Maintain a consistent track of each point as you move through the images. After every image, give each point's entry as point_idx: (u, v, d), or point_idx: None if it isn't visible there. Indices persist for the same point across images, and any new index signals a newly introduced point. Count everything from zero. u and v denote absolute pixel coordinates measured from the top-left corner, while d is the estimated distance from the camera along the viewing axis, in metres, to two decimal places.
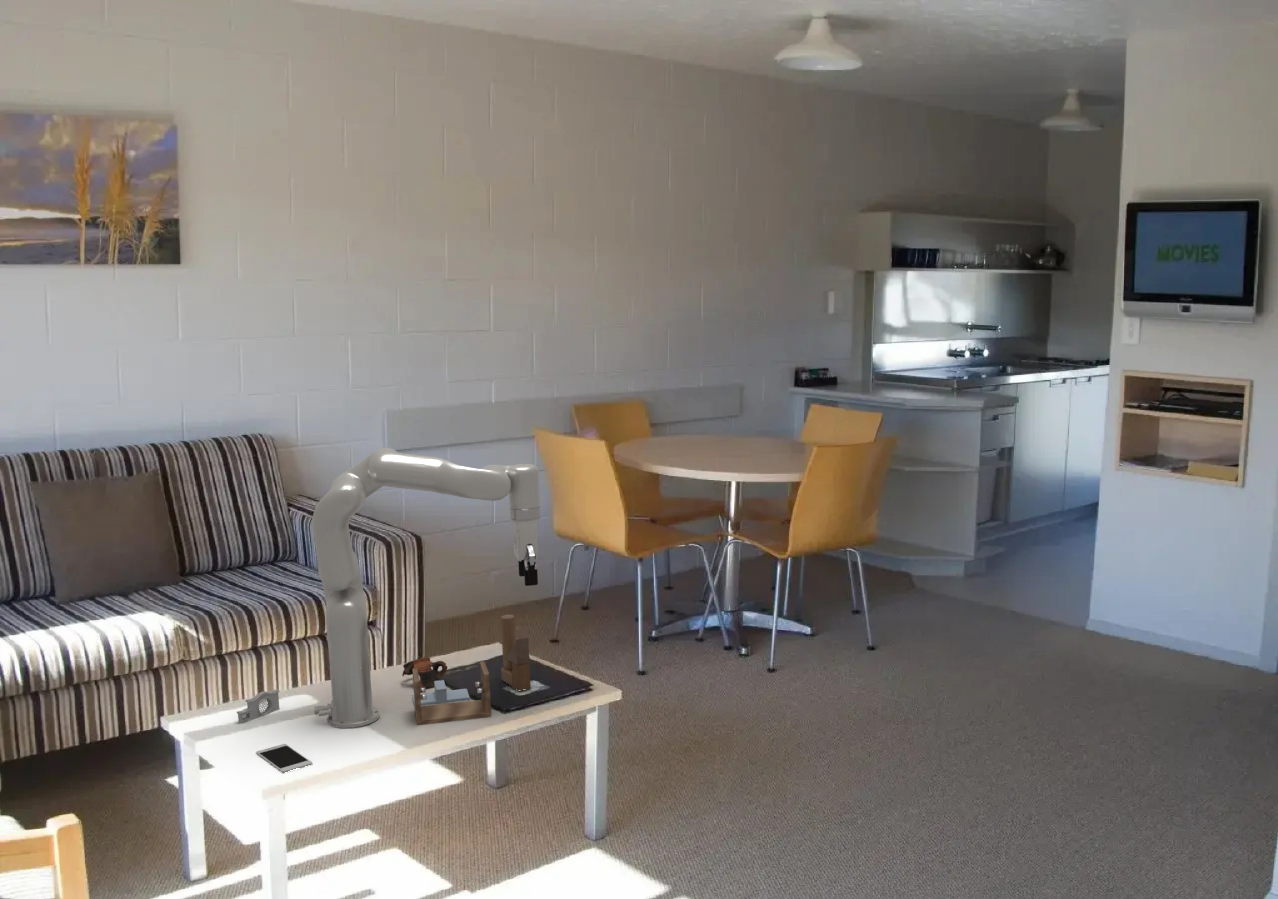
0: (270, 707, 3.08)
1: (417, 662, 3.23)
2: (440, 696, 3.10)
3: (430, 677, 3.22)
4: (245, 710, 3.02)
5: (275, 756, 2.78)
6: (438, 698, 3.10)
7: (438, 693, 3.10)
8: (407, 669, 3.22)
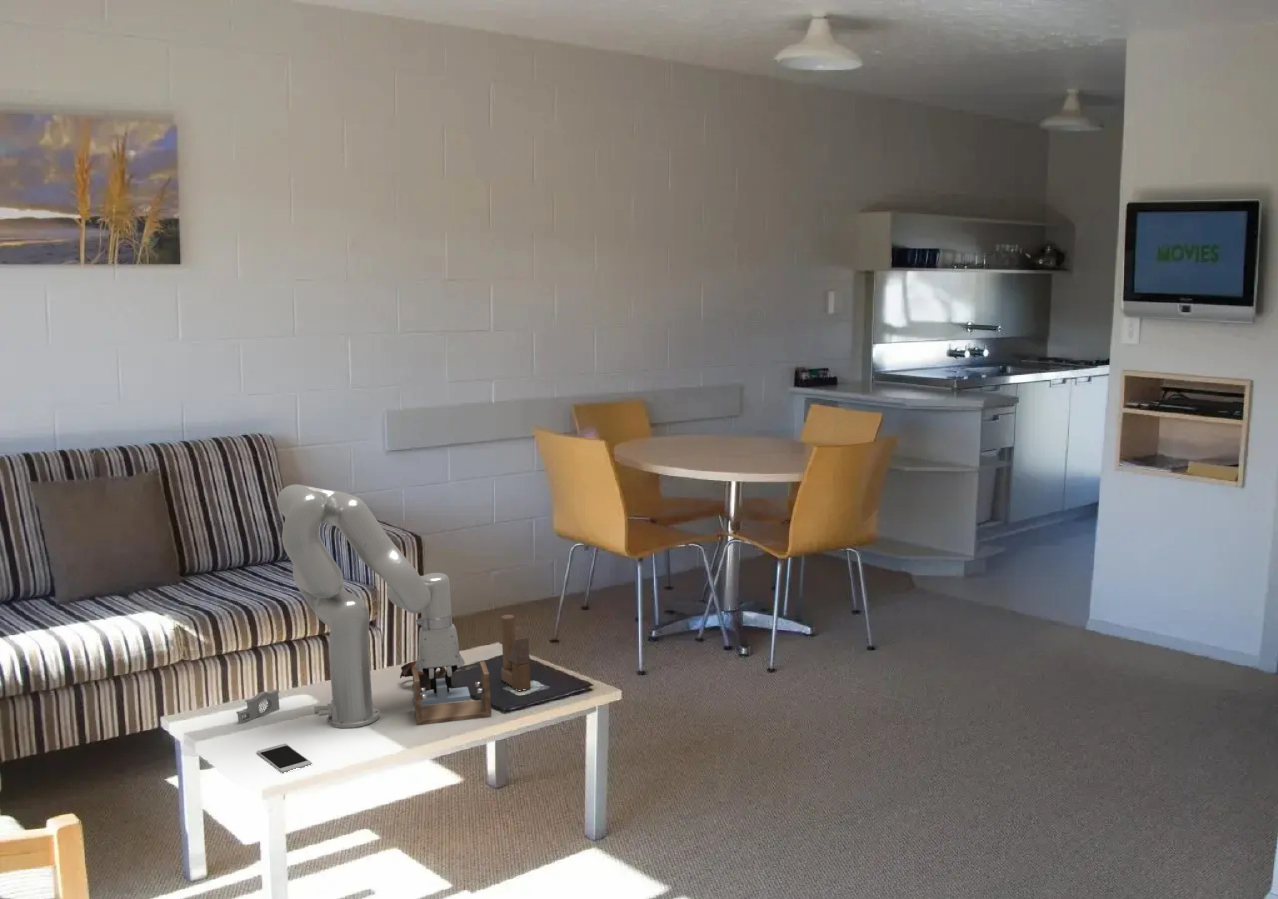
0: (270, 707, 3.07)
1: None
2: (441, 694, 3.10)
3: (428, 679, 3.21)
4: (245, 710, 3.02)
5: (275, 756, 2.78)
6: (439, 696, 3.10)
7: (439, 691, 3.10)
8: (405, 671, 3.21)
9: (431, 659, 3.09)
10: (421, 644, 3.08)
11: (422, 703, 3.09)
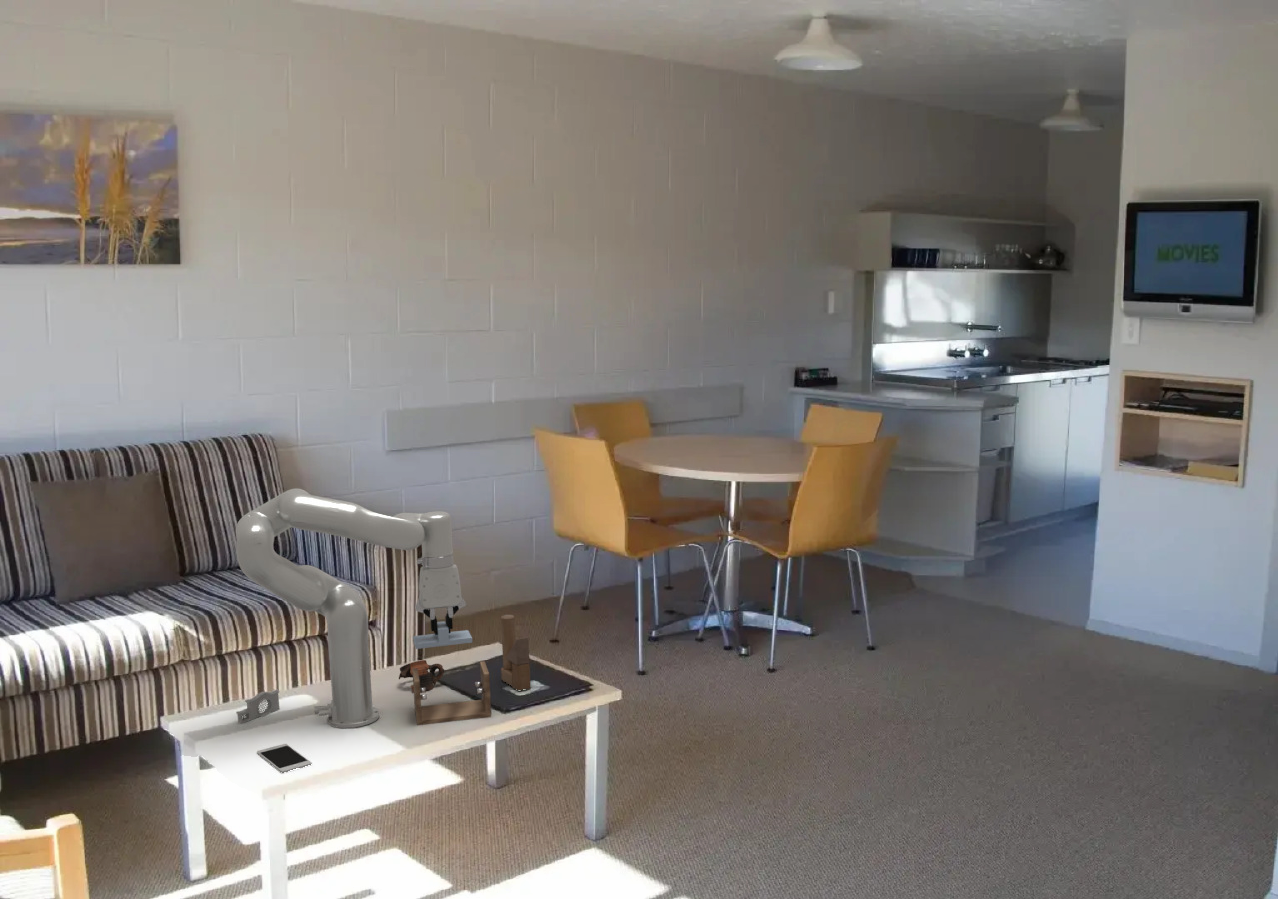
0: (270, 707, 3.07)
1: (414, 665, 3.21)
2: (442, 636, 3.03)
3: (427, 680, 3.20)
4: (245, 710, 3.02)
5: (275, 756, 2.78)
6: (440, 638, 3.03)
7: (440, 633, 3.02)
8: (404, 672, 3.20)
9: (432, 599, 3.01)
10: (422, 584, 3.01)
11: (423, 645, 3.02)
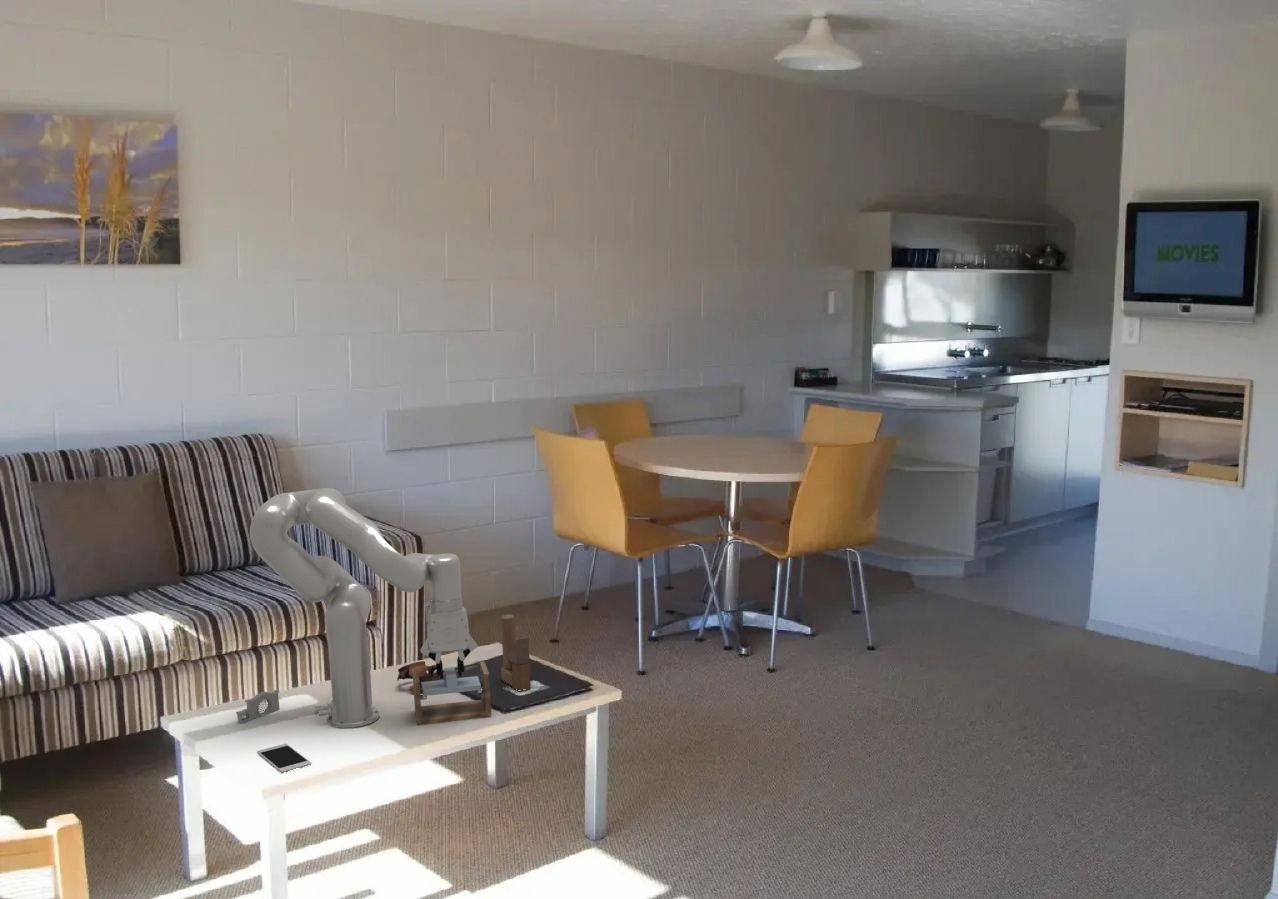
0: (270, 708, 3.07)
1: (412, 666, 3.20)
2: (450, 684, 2.98)
3: (426, 681, 3.19)
4: (244, 710, 3.01)
5: (275, 756, 2.78)
6: (448, 686, 2.98)
7: (448, 680, 2.98)
8: (403, 674, 3.19)
9: (440, 643, 2.97)
10: (430, 627, 2.96)
11: (431, 693, 2.97)
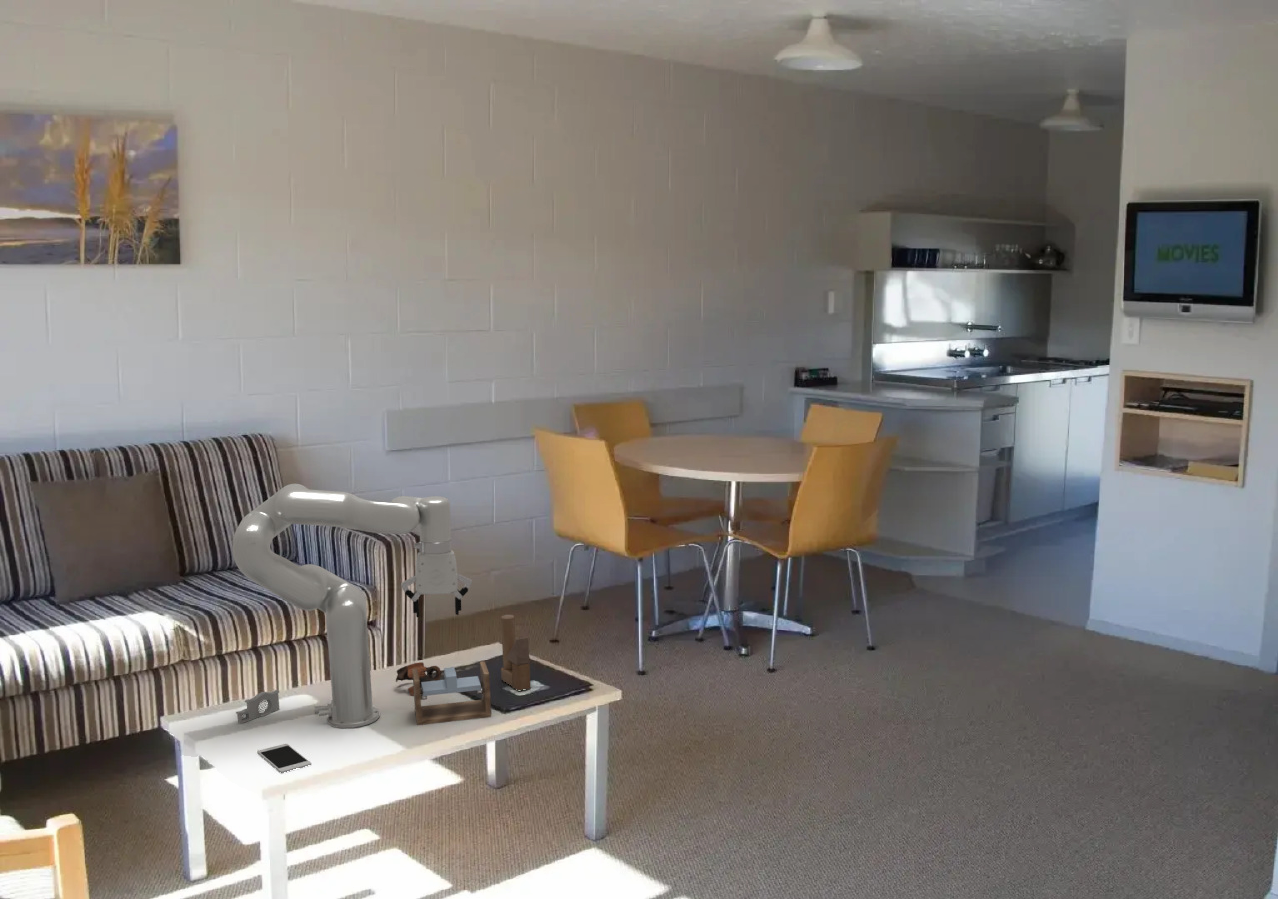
0: (270, 708, 3.07)
1: (411, 667, 3.19)
2: (450, 684, 2.98)
3: None
4: (244, 710, 3.01)
5: (275, 756, 2.78)
6: (448, 686, 2.98)
7: (448, 680, 2.98)
8: (401, 675, 3.18)
9: (428, 585, 2.98)
10: (418, 569, 2.97)
11: (431, 693, 2.97)
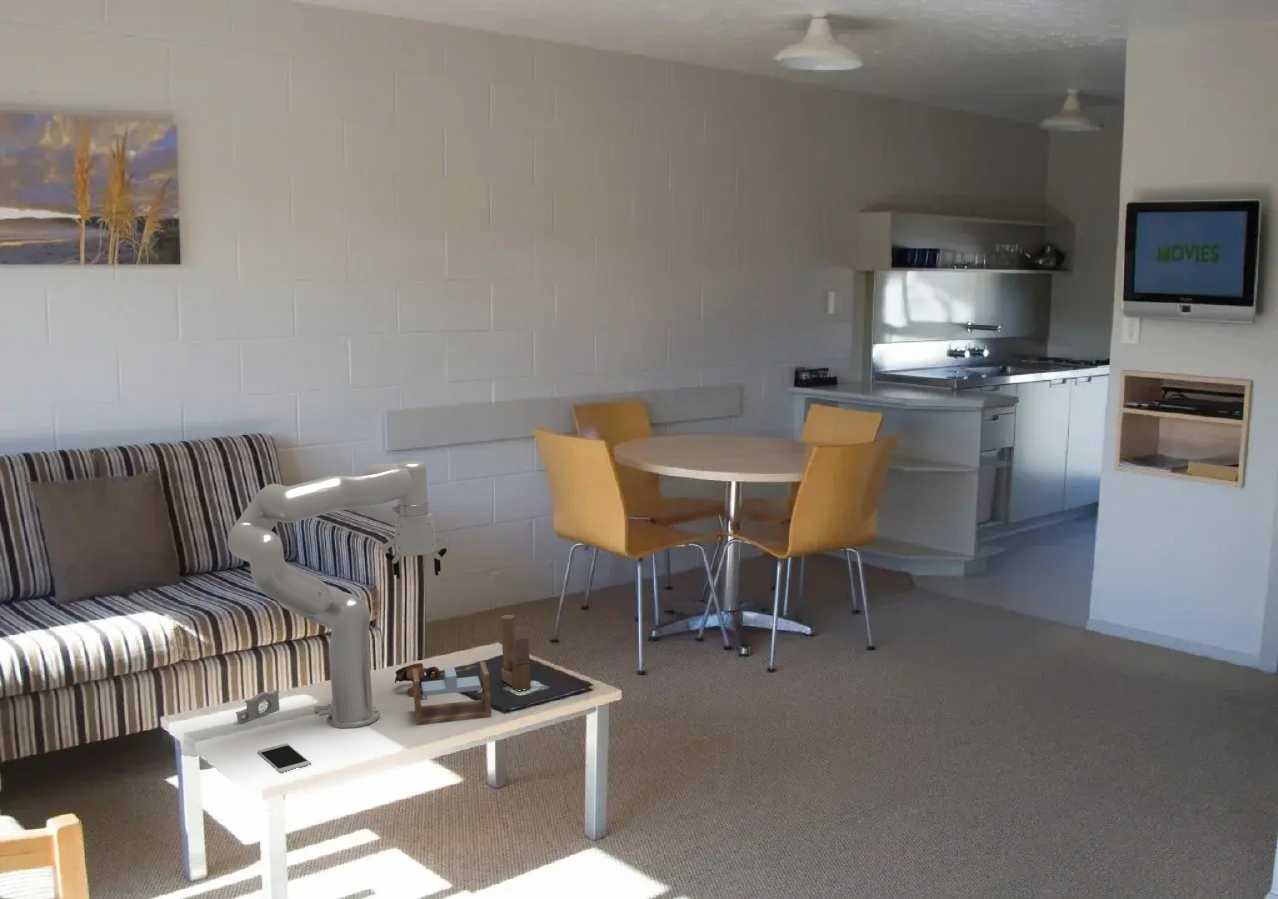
0: (270, 708, 3.07)
1: (410, 668, 3.18)
2: (450, 684, 2.98)
3: None
4: (244, 711, 3.01)
5: (275, 756, 2.78)
6: (448, 686, 2.98)
7: (448, 680, 2.98)
8: (400, 676, 3.17)
9: (407, 547, 3.06)
10: (397, 531, 3.05)
11: (431, 693, 2.97)
